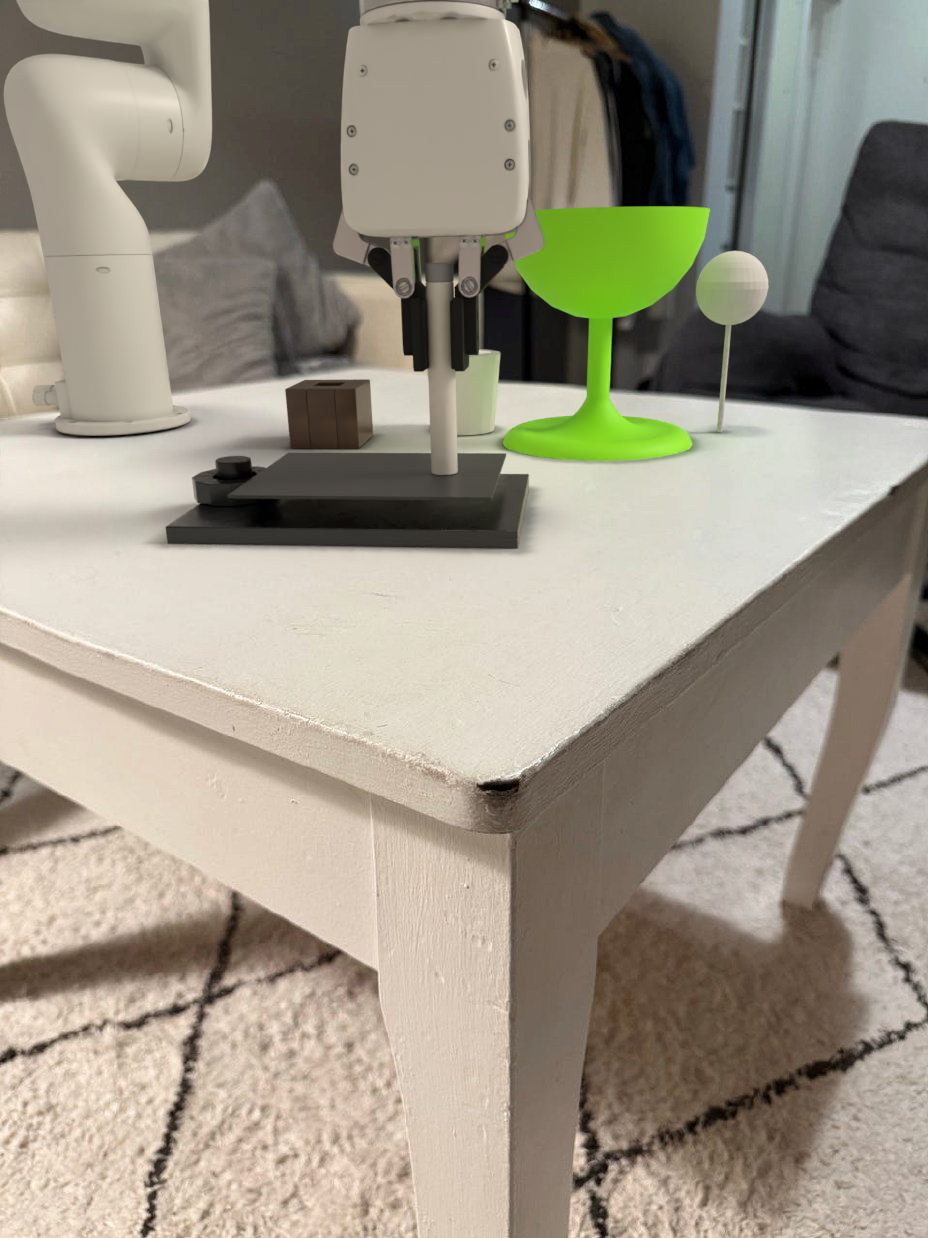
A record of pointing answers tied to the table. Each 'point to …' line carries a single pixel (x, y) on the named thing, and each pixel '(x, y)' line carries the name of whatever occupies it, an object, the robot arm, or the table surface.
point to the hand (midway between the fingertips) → (441, 366)
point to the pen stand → (329, 414)
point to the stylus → (441, 369)
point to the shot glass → (477, 393)
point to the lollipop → (731, 298)
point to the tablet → (351, 519)
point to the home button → (233, 467)
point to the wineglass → (607, 316)
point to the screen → (374, 477)
